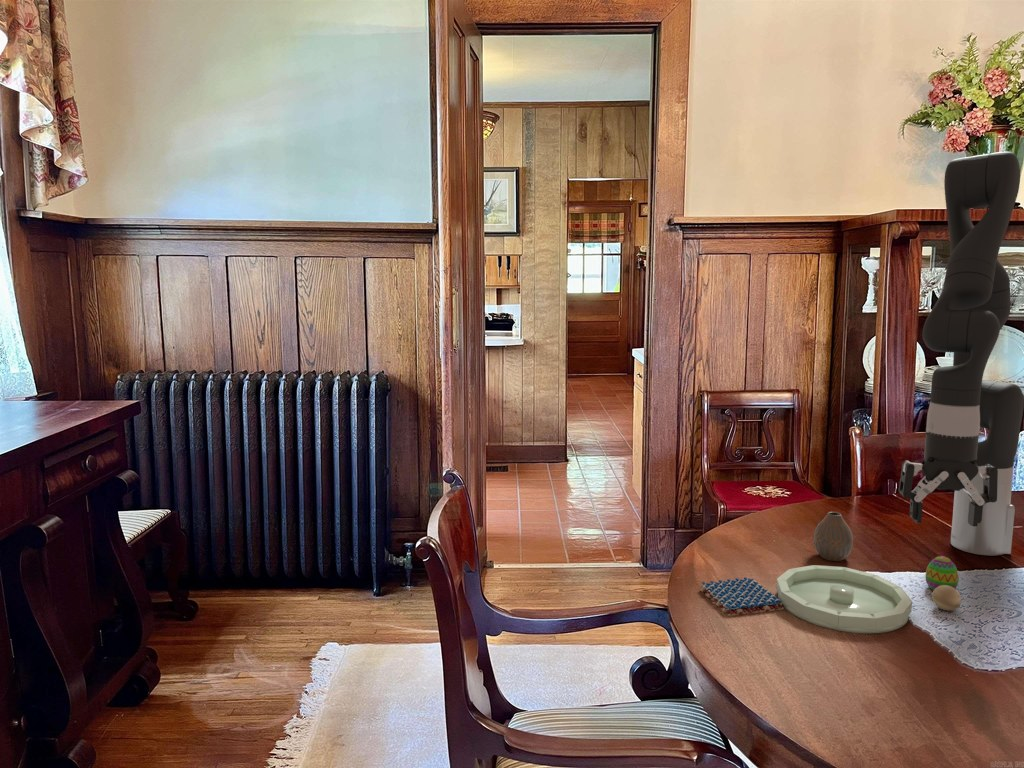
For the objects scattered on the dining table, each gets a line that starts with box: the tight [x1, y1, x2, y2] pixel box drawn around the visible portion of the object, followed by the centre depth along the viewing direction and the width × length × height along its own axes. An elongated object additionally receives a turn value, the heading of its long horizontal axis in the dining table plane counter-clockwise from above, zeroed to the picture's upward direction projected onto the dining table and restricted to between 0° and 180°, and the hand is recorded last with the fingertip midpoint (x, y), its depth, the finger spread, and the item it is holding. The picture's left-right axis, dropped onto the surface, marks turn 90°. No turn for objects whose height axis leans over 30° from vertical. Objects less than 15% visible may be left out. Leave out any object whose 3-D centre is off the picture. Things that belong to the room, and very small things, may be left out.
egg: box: [924, 555, 960, 591], centre depth 123 cm, size 5×5×6 cm
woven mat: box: [699, 576, 785, 617], centre depth 121 cm, size 10×11×2 cm
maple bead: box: [931, 585, 962, 612], centre depth 116 cm, size 4×4×4 cm
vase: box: [813, 511, 854, 562], centre depth 138 cm, size 7×7×9 cm
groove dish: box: [776, 564, 913, 634], centre depth 119 cm, size 20×20×3 cm
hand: (944, 523), depth 122 cm, fingers open, 8 cm apart
